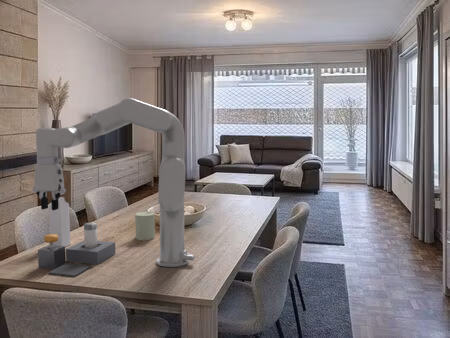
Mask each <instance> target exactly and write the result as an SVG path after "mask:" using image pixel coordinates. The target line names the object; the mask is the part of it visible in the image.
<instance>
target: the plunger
mask: <svg viewBox="0 0 450 338" xmlns="http://www.w3.org/2000/svg"><path fill="white" fill-rule="evenodd" d="M43 241H44V243H48V245H50V249H54V246H53V242H57V241H58V235H57V234H50V233H49V234H45V235H44V236H43Z"/></svg>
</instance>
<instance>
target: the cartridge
mask: <svg viewBox="0 0 450 338" xmlns="http://www.w3.org/2000/svg"><path fill="white" fill-rule="evenodd" d="M83 235H84V240H83V241H85V248H96V247H98V244H97V241H98V223H97V222H93V221H92V222H86V223H83Z"/></svg>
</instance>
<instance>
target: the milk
mask: <svg viewBox="0 0 450 338" xmlns="http://www.w3.org/2000/svg"><path fill="white" fill-rule="evenodd" d="M65 199H66V198H65V197H64V196H60V198H59V199H58V203H59V206H58V209H56V210H52V204H51V202H50V203H48V215H49V216H48V217H49V219H48V220H49V234H57V235H58V241H57V242H53V245H57V246H65V248H66V247H70V246H71V225H70V203H69V202H67V201H66V200H65Z"/></svg>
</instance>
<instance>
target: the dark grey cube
mask: <svg viewBox="0 0 450 338" xmlns="http://www.w3.org/2000/svg"><path fill="white" fill-rule="evenodd" d="M53 246H54V249H50V244H48V245H46V246H43V247H42V248H39V249H37V258H38V259H37V260H38V261H37V262H38V269H47V270H54V269H56V268H58V267H60V266H62V265H64V264H66V263H67V261H66V247H65V246H57V245H53Z"/></svg>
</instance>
